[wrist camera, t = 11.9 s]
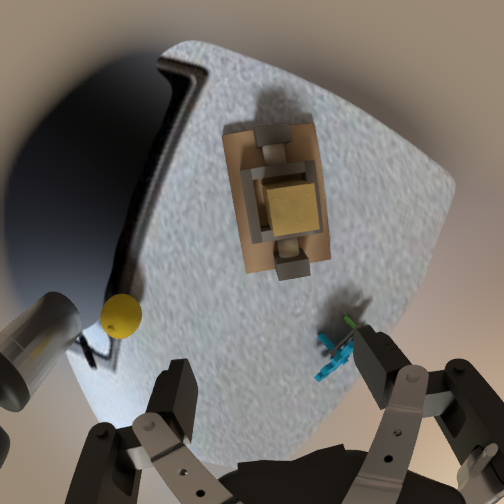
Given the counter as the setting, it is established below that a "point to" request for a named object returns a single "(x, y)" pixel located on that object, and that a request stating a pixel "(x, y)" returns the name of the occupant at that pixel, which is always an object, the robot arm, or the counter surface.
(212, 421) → the counter surface
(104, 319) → the lemon
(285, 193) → the block
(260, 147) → the shaft rig
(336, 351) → the blue-green animal figure
